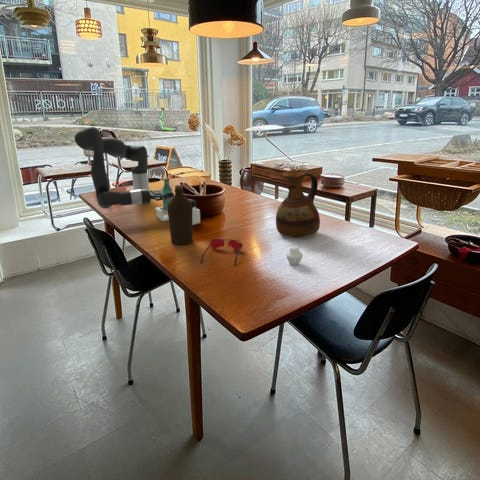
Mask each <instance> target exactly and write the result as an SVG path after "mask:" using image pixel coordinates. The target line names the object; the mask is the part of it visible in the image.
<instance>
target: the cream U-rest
mask: <svg viewBox="0 0 480 480" xmlns="http://www.w3.org/2000/svg"><path fill="white" fill-rule="evenodd" d="M155 214H156V217H157V218H158V219H159V220H160V221H161V222H165V221H166V222H167V221H169V218H168V210H163V206H158V207H155Z"/></svg>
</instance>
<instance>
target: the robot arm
mask: <svg viewBox="0 0 480 480" xmlns="http://www.w3.org/2000/svg"><path fill="white" fill-rule="evenodd" d="M74 142H75V144H76V145H77V146H78V147H79V148H80V149H82V150H85V151H93V155H92V156H93V157H92V162H91V168H90V175H91V178H92V182H93V186H94V190H95V195H96V201H97V204H98V206H99V207H100V208H102V209H105V210H106V209H109V208H111V207H112V206H116V205H119V206H133V205H135V206H136V205H147V204H150V203H151V200H153V201H156V202H158V201H163V200H165V199H167V198H170V197H174V196H175V192H172V193H162V189H157V190H150V186H149V183H150V182H149V174H148V168H149V165H148V164H149V163H148V159H149V158H148V151H147V148H146V147H145V146H144V145H133V144H132V145H128V144H125V142H124V141H122V140H120V139H119V138H116V137H113V136H111V137H110V136H108V137H106V136H105V137H103V136H102V134H101V132H100V131H99V129H98V128H96V127H95V126H90V127H87V128H84V129H81V130H80V131H78V132H77V133H76V134H75V136H74ZM104 154H107V155H110V156H114V157H119V158H120V157H121V158H125V159H127V160H129V161H131V162H137V165H136V166H134V167H131V179H132V184H133V185H132V186H133V187H132V188H133V189H132V190H124V191H115V190H112V191H111V190H110V182H109V178H108V174H107V170H106V166H105V155H104ZM163 196H164V197H163Z"/></svg>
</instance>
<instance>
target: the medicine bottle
mask: <svg viewBox="0 0 480 480" xmlns="http://www.w3.org/2000/svg"><path fill="white" fill-rule="evenodd" d="M187 199H188V200H189V201H190V202H191V204H192V226H195V225H198V224H201V210H200V209H199V208H197V202H196V200H195V199H191V198H187Z"/></svg>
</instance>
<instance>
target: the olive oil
mask: <svg viewBox="0 0 480 480" xmlns="http://www.w3.org/2000/svg"><path fill="white" fill-rule="evenodd" d="M188 199H189V198H187V196H185V195H184V188H183V185H181V184H177V185H175V186H174V197H173V198H172V199H171V200H170V202H169V203H168V207H167V210H168V218H169V220H168V225H169V231H170V232H169V234H170V242H171V243H172V245H176V246H185V245H189V244H191V243H192V242H193V240H194V238H193V225H192V204H191V202H190V201H189V200H188Z"/></svg>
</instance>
